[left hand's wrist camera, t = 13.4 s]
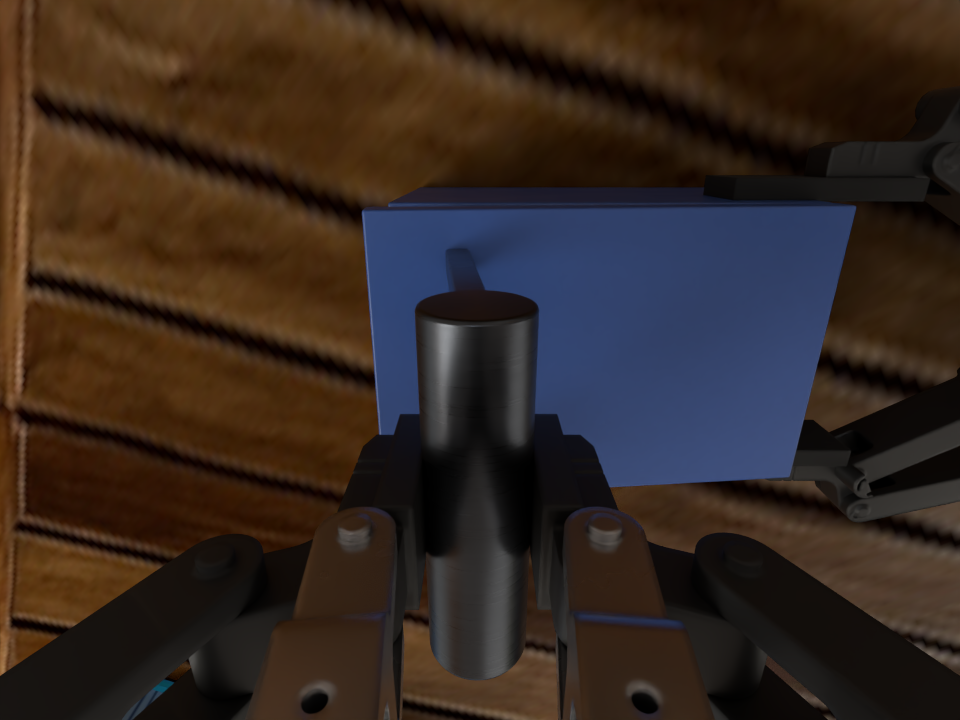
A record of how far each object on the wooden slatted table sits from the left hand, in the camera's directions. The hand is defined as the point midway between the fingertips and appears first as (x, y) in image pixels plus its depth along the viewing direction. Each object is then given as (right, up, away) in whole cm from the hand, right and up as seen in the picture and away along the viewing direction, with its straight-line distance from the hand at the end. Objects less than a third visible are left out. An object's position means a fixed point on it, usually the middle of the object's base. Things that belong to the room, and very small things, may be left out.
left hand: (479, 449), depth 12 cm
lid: (+4, +2, +6) cm, 8 cm away
